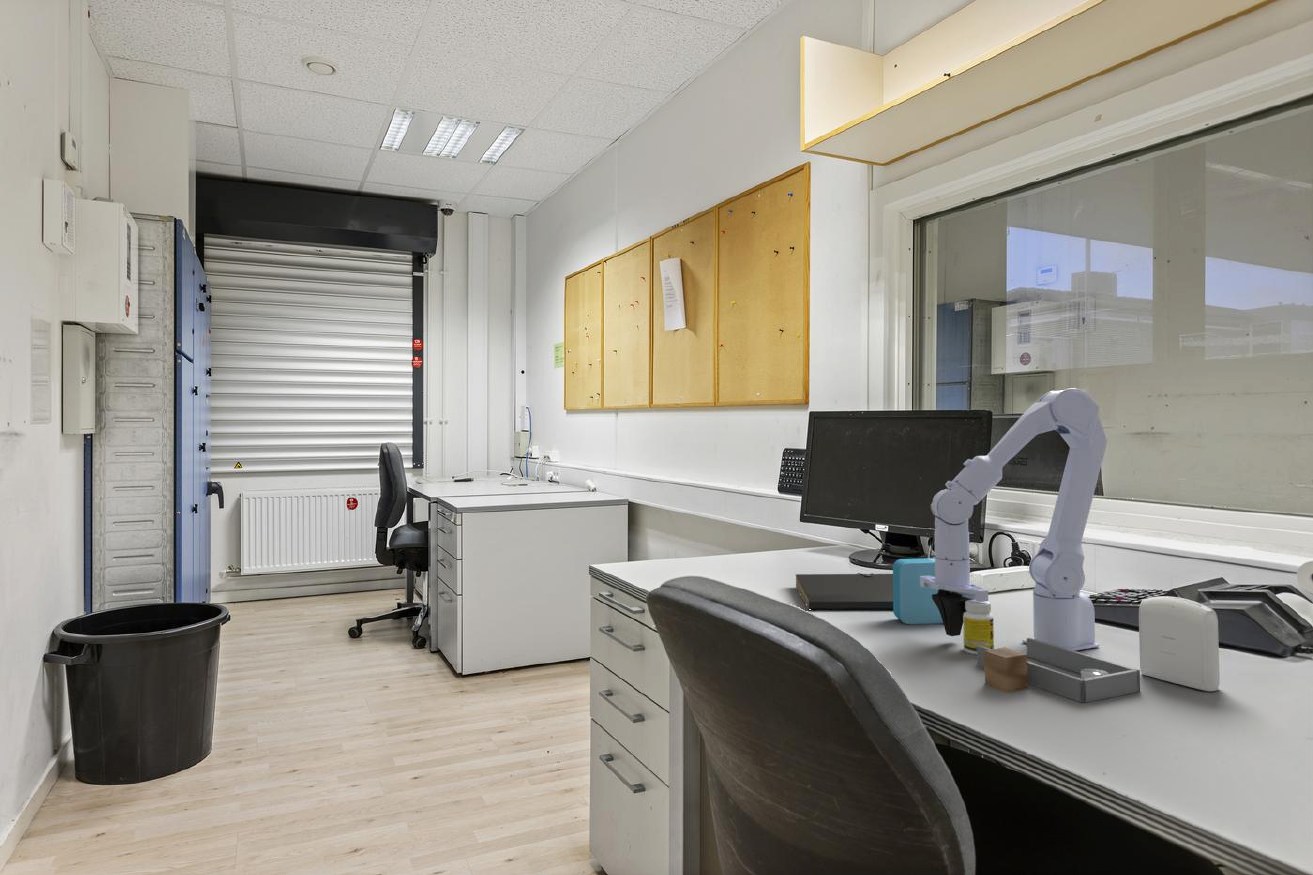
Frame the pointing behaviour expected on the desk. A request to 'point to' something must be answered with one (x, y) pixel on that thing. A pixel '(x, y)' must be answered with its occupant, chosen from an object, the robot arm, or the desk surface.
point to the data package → (914, 592)
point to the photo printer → (1179, 642)
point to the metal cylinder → (1092, 673)
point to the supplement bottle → (977, 626)
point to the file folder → (846, 591)
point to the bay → (1074, 688)
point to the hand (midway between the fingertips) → (953, 634)
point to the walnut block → (1006, 669)
